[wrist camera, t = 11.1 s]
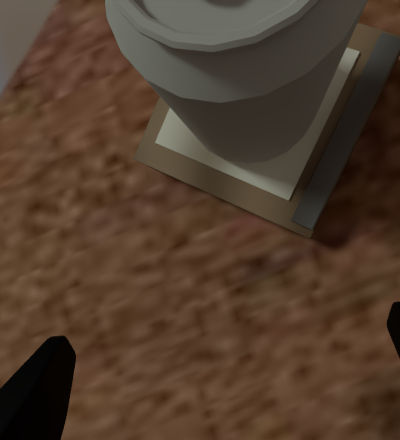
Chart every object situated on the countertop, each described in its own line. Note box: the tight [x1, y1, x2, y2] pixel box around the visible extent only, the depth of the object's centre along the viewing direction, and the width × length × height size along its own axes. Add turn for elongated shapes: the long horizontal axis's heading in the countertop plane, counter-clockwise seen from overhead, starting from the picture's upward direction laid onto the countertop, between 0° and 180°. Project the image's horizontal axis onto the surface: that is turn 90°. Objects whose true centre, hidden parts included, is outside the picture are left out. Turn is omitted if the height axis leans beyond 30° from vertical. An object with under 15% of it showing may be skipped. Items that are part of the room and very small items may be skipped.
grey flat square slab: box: [134, 23, 400, 239], centre depth 19 cm, size 12×12×3 cm
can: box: [105, 0, 368, 164], centre depth 13 cm, size 8×8×12 cm
